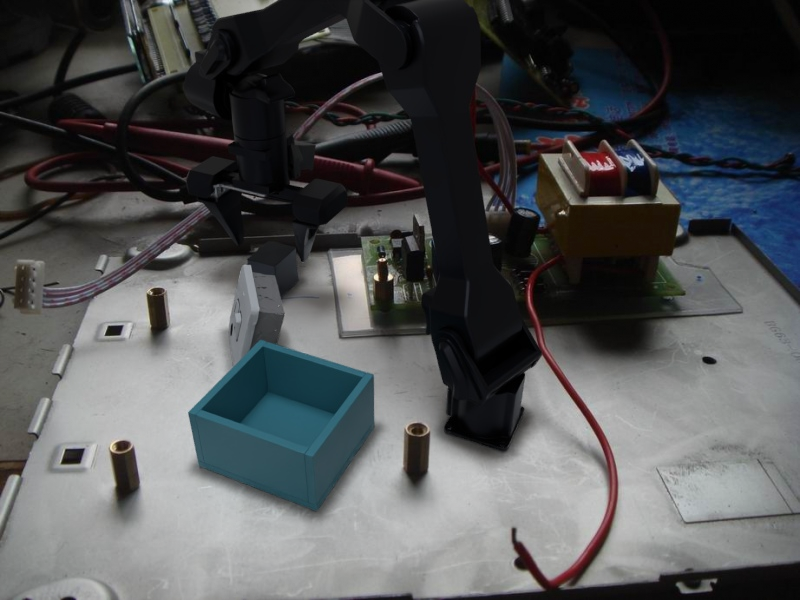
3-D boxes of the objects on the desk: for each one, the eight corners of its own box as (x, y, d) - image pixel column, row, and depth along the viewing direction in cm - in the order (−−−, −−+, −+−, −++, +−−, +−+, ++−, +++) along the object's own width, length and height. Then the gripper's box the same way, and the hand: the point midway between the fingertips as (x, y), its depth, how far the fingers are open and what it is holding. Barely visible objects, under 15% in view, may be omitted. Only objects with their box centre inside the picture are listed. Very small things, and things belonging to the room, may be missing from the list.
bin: (374, 426, 74) (374, 374, 70) (316, 511, 66) (312, 456, 62) (266, 390, 78) (260, 339, 75) (198, 466, 70) (187, 412, 66)
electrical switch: (227, 331, 87) (226, 262, 82) (272, 328, 88) (273, 260, 83) (235, 383, 80) (233, 311, 74) (283, 379, 81) (286, 308, 76)
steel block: (298, 281, 96) (296, 247, 93) (278, 301, 92) (274, 266, 89) (272, 273, 97) (268, 240, 94) (250, 293, 93) (246, 259, 91)
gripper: (367, 120, 86) (369, 239, 95) (231, 95, 92) (244, 209, 101) (320, 156, 77) (326, 282, 86) (173, 126, 84) (193, 247, 92)
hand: (271, 252), depth 92 cm, fingers open, 9 cm apart
